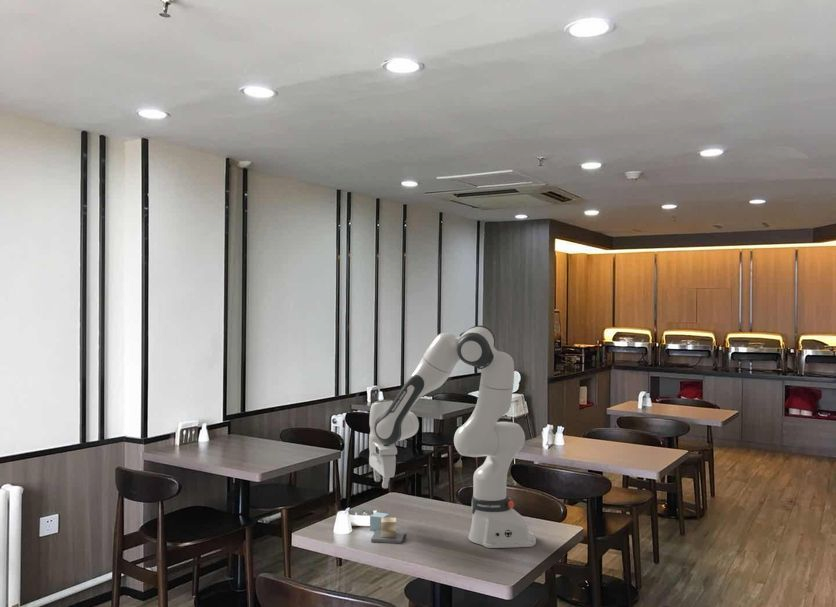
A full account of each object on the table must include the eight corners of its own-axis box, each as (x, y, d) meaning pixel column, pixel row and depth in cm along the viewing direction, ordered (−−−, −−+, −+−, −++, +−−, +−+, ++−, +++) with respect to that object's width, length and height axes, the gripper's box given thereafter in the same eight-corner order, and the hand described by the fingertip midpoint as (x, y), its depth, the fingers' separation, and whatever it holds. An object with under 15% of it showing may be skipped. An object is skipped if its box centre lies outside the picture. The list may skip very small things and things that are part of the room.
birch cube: (395, 532, 230) (395, 517, 230) (396, 537, 225) (396, 521, 225) (381, 532, 230) (381, 517, 230) (381, 537, 225) (381, 522, 225)
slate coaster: (404, 533, 232) (404, 530, 232) (401, 543, 222) (401, 540, 222) (376, 532, 233) (376, 529, 233) (371, 542, 223) (371, 539, 223)
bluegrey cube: (388, 528, 239) (389, 513, 239) (383, 532, 234) (383, 517, 234) (376, 526, 241) (376, 512, 241) (370, 530, 236) (370, 516, 236)
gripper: (365, 440, 248) (364, 478, 248) (381, 451, 229) (380, 492, 229) (381, 439, 250) (381, 476, 250) (398, 450, 231) (398, 491, 231)
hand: (381, 484), depth 239 cm, fingers open, 8 cm apart
